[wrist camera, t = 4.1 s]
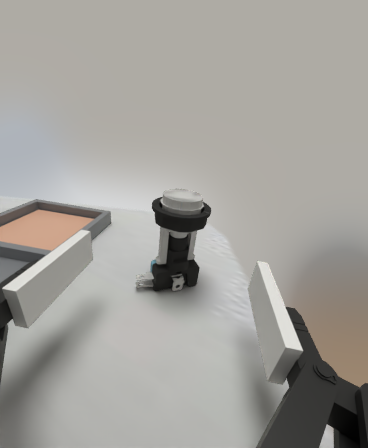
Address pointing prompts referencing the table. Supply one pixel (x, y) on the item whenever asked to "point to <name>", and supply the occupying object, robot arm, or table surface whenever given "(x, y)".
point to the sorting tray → (42, 231)
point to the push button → (176, 240)
